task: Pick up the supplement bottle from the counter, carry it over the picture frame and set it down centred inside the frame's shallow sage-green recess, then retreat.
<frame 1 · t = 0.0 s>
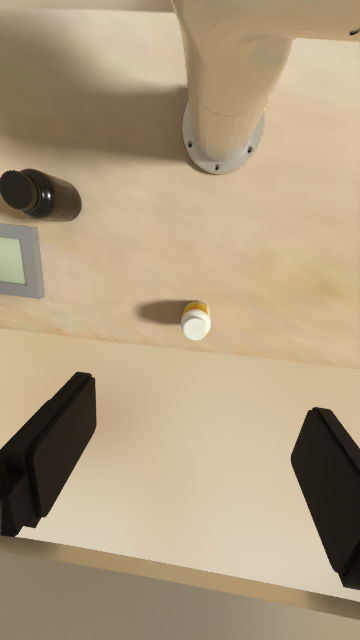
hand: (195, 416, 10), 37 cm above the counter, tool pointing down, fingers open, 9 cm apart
supplement bottle 2: (196, 312, 47), on the counter
picture frame: (9, 260, 47), on the counter
supplement bottle: (65, 202, 42), on the counter
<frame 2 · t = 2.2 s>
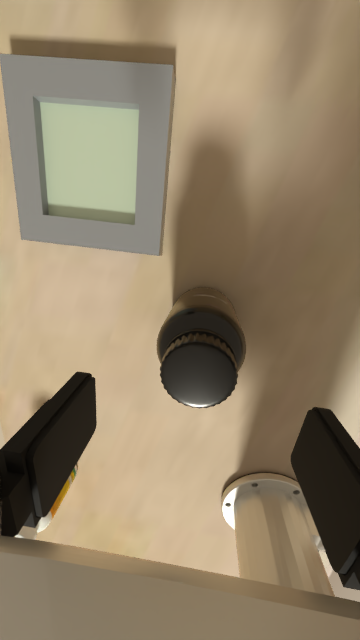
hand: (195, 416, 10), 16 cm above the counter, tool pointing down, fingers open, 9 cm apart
supplement bottle 2: (62, 464, 35), on the counter
picture frame: (95, 169, 21), on the counter
supplement bottle: (202, 315, 25), on the counter
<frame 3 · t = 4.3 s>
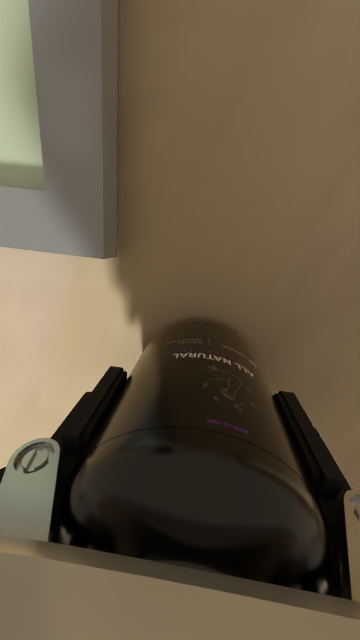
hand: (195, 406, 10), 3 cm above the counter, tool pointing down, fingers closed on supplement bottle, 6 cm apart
supplement bottle: (197, 367, 14), on the counter, touching gripper
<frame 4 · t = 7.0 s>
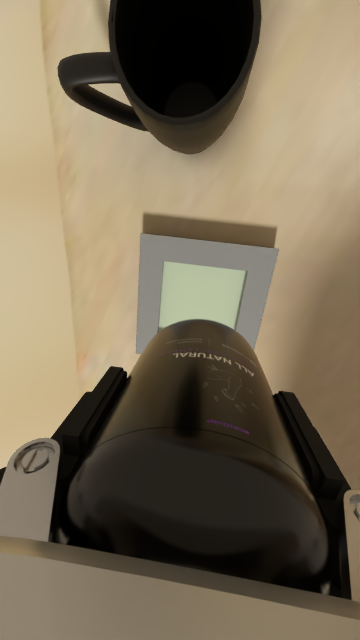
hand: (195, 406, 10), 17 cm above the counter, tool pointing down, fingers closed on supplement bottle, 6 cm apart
mug: (171, 122, 21), on the counter
picture frame: (199, 303, 27), on the counter
supplement bottle: (197, 367, 14), point 14 cm above the counter, touching gripper
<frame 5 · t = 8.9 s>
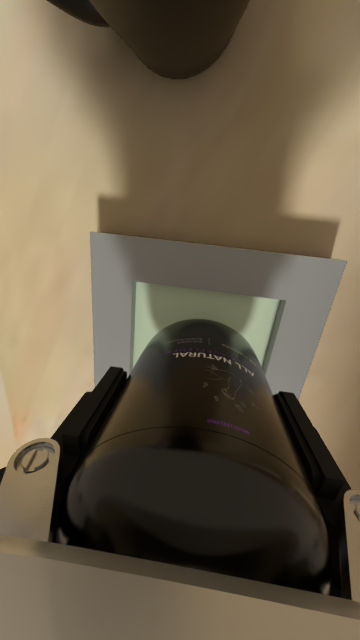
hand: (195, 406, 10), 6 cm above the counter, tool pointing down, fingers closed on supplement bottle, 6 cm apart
mug: (141, 14, 11), on the counter
picture frame: (198, 347, 16), on the counter
supplement bottle: (197, 366, 14), point 3 cm above the counter, touching gripper
when the fingers open (5 cm above the counter, at t = 10.2 s): supplement bottle stays where it is, resting on picture frame.
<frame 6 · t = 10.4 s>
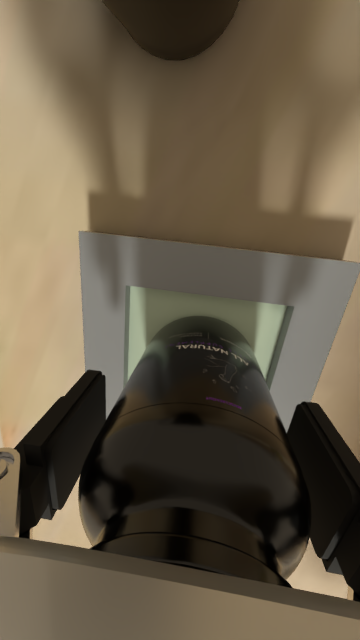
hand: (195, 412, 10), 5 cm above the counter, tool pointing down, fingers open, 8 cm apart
picture frame: (197, 355, 15), on the counter
supplement bottle: (197, 361, 15), point 1 cm above the counter, touching picture frame
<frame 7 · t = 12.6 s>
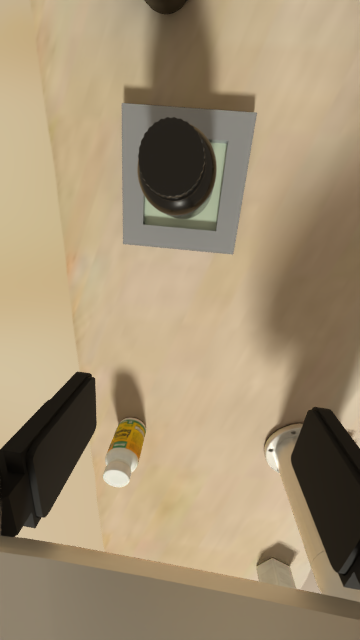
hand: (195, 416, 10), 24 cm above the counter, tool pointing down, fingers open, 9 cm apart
supplement bottle 2: (133, 426, 43), on the counter
skincare box: (272, 564, 57), on the counter
picture frame: (183, 188, 27), on the counter
supplement bottle: (183, 188, 27), point 1 cm above the counter, touching picture frame
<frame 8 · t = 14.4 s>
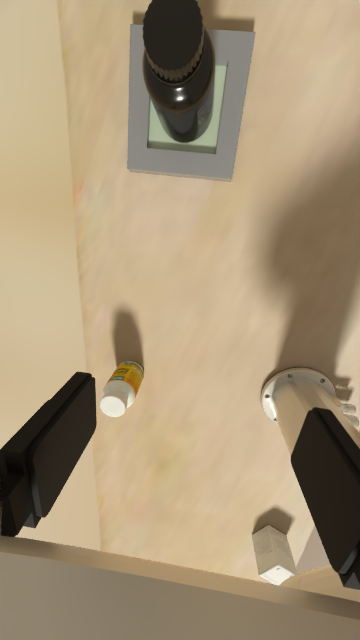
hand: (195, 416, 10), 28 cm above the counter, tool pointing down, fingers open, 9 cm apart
supplement bottle 2: (131, 371, 43), on the counter
skincare box: (268, 533, 56), on the counter
picture frame: (185, 113, 29), on the counter
supplement bottle: (185, 113, 29), point 1 cm above the counter, touching picture frame
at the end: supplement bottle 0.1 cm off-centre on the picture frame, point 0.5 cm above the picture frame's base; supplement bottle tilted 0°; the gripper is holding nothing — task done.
